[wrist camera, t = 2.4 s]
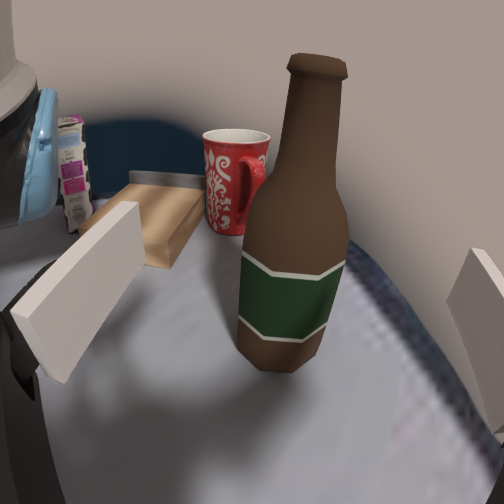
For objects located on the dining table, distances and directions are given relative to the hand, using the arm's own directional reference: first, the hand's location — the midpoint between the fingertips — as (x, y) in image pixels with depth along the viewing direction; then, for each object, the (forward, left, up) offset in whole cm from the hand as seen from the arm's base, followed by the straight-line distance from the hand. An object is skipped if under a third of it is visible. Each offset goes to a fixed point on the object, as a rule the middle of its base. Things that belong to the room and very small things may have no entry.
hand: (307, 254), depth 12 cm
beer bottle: (0, +10, -17) cm, 20 cm away
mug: (-8, +30, -17) cm, 35 cm away
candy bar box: (-34, +28, -17) cm, 47 cm away
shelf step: (-20, +26, -17) cm, 37 cm away
